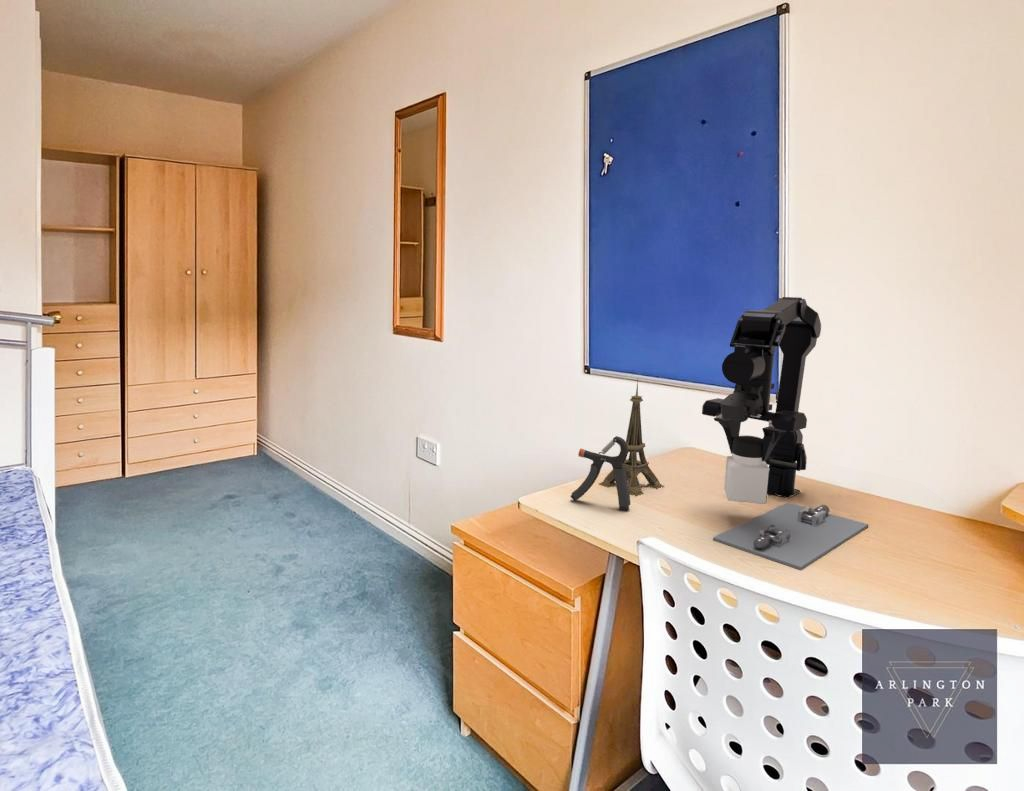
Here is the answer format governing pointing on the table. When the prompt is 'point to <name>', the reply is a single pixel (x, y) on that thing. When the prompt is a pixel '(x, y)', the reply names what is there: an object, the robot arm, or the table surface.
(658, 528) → the table surface
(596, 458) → the hand grip strengthener
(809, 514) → the chain ends
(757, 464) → the medicine bottle
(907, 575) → the table surface
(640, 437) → the eiffel tower
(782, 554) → the rubber mat
